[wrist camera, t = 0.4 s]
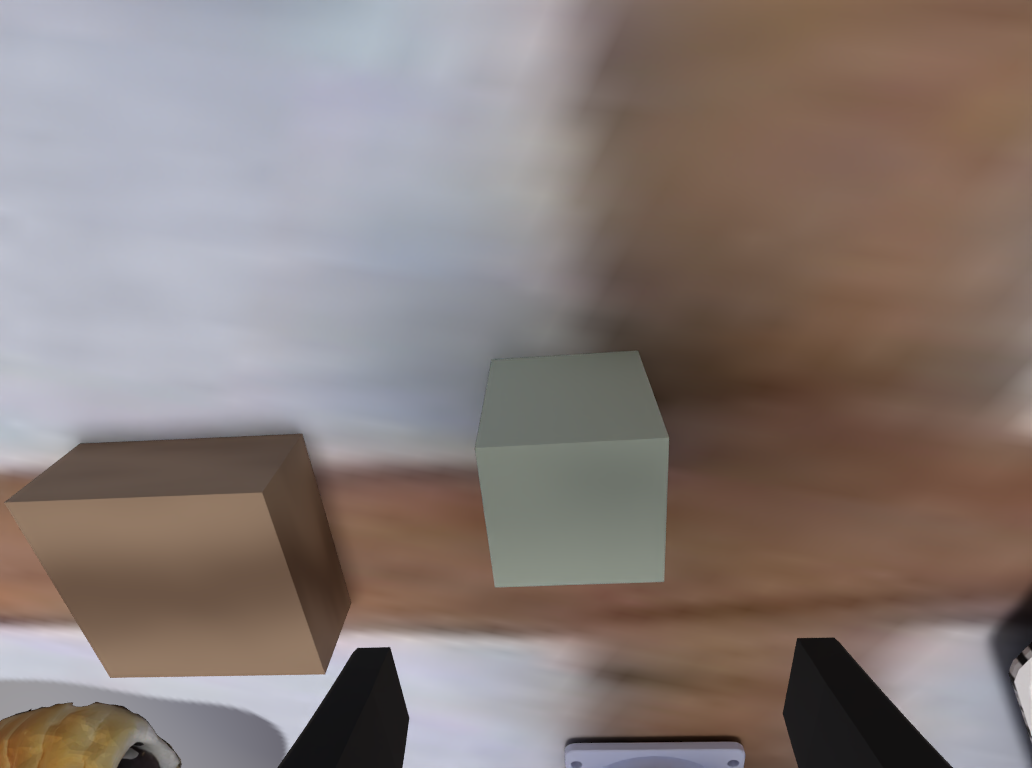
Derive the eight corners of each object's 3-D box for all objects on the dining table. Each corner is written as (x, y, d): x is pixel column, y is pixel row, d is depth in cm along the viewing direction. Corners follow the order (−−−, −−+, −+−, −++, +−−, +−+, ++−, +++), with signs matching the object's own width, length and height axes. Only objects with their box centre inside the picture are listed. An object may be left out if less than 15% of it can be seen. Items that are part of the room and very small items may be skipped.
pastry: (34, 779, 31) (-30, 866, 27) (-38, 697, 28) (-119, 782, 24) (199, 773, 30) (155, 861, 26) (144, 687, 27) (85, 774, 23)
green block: (636, 470, 20) (663, 581, 15) (505, 476, 20) (495, 587, 16) (637, 349, 18) (669, 437, 13) (491, 358, 18) (474, 448, 14)
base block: (353, 596, 24) (325, 674, 20) (165, 601, 24) (110, 677, 21) (305, 428, 20) (262, 492, 17) (85, 438, 20) (4, 502, 17)
